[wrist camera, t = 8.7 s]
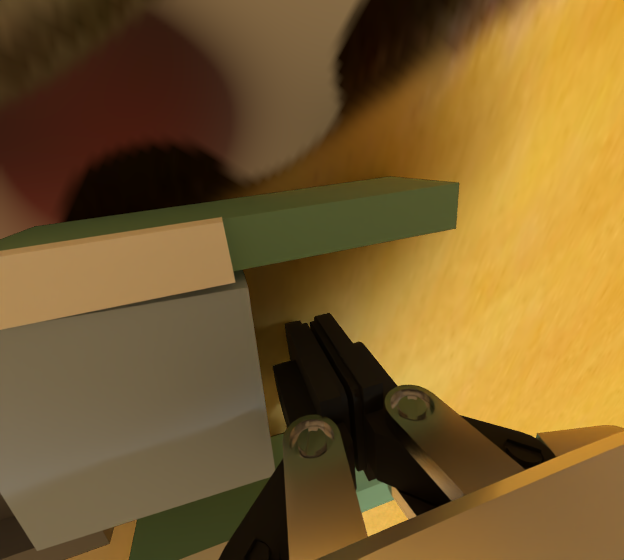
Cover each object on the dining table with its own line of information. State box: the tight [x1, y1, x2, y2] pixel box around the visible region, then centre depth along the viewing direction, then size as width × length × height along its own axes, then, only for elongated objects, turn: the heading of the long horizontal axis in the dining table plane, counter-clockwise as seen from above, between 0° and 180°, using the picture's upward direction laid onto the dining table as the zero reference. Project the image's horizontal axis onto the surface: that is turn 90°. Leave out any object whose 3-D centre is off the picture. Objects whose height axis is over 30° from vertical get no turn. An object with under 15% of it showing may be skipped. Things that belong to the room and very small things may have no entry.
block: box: [0, 270, 275, 551], centre depth 9 cm, size 6×6×4 cm
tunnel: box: [0, 176, 459, 560], centre depth 10 cm, size 11×12×4 cm
